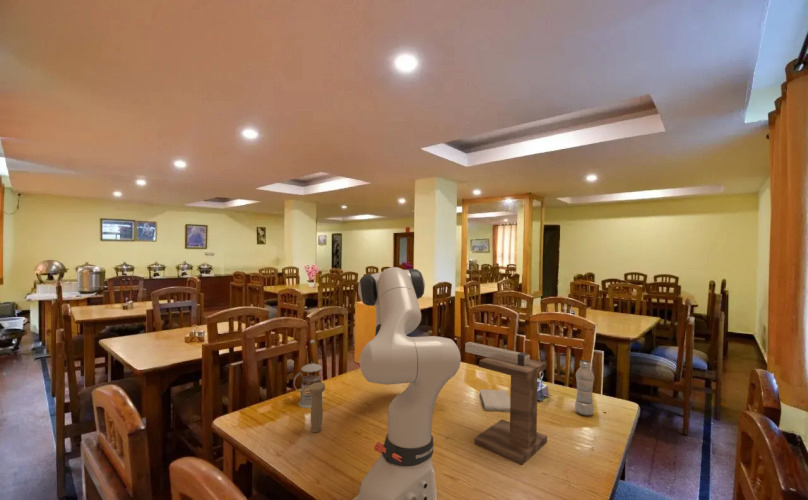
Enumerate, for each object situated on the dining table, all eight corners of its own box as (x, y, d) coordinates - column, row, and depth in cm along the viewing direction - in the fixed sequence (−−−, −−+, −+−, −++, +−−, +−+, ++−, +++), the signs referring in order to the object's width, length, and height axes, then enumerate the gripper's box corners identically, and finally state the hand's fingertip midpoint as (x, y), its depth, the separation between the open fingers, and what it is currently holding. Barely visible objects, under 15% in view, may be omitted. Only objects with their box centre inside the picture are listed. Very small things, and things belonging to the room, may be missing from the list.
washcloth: (506, 395, 154) (506, 388, 154) (516, 414, 136) (516, 406, 136) (478, 394, 155) (478, 387, 155) (484, 412, 137) (484, 404, 137)
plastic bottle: (574, 415, 135) (575, 362, 135) (575, 408, 141) (576, 358, 141) (593, 419, 132) (594, 365, 132) (593, 412, 138) (594, 360, 138)
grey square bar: (525, 366, 110) (525, 356, 110) (465, 351, 125) (465, 342, 125) (529, 364, 112) (529, 354, 112) (470, 350, 127) (470, 341, 127)
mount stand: (522, 465, 102) (523, 374, 103) (474, 443, 113) (475, 361, 114) (547, 441, 115) (548, 361, 116) (501, 424, 126) (503, 351, 127)
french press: (325, 406, 139) (326, 341, 139) (294, 410, 135) (295, 344, 135) (321, 396, 148) (322, 336, 148) (292, 400, 144) (293, 338, 144)
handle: (306, 435, 117) (307, 389, 117) (312, 425, 123) (313, 382, 123) (320, 436, 116) (321, 389, 116) (326, 426, 123) (327, 382, 123)
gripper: (401, 359, 134) (426, 348, 126) (435, 349, 149) (459, 338, 141) (407, 376, 132) (433, 365, 124) (441, 364, 147) (466, 353, 138)
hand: (447, 351), depth 132 cm, fingers open, 8 cm apart
